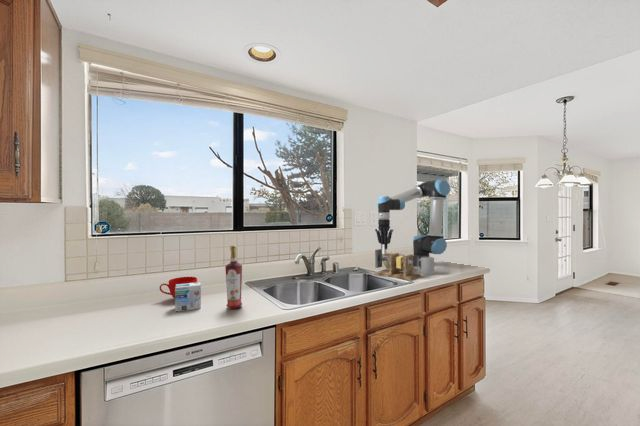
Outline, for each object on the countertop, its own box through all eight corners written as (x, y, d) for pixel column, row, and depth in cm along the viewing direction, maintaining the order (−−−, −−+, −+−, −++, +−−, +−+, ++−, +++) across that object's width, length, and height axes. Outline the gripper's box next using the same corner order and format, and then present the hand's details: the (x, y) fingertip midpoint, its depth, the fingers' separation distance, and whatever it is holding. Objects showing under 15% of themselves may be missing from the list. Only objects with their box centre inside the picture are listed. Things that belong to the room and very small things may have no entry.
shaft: (414, 270, 190) (414, 252, 190) (409, 272, 186) (409, 253, 186) (380, 266, 207) (379, 249, 207) (375, 267, 203) (375, 249, 203)
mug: (436, 274, 199) (436, 257, 199) (429, 275, 193) (429, 258, 193) (421, 271, 208) (420, 255, 208) (413, 273, 203) (413, 256, 203)
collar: (405, 266, 195) (405, 256, 195) (400, 268, 190) (400, 257, 189) (401, 266, 197) (401, 255, 197) (396, 268, 192) (396, 257, 192)
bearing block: (420, 276, 191) (420, 254, 191) (410, 280, 181) (410, 257, 181) (385, 271, 209) (385, 251, 209) (374, 274, 199) (373, 253, 199)
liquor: (244, 304, 139) (243, 244, 138) (240, 310, 131) (239, 246, 131) (228, 305, 138) (227, 244, 138) (223, 310, 131) (222, 246, 131)
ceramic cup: (160, 298, 150) (160, 279, 150) (197, 294, 157) (196, 275, 157) (158, 306, 139) (158, 284, 139) (198, 301, 146) (197, 280, 145)
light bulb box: (175, 312, 130) (174, 287, 130) (175, 307, 136) (175, 284, 136) (201, 308, 134) (201, 284, 134) (200, 304, 140) (200, 281, 140)
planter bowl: (409, 270, 213) (409, 254, 213) (394, 273, 204) (393, 257, 204) (392, 266, 226) (392, 252, 226) (377, 269, 217) (376, 254, 217)
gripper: (372, 219, 203) (373, 253, 203) (389, 219, 194) (390, 255, 194) (378, 218, 209) (379, 252, 209) (395, 218, 200) (395, 254, 200)
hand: (384, 253), depth 201 cm, fingers closed
